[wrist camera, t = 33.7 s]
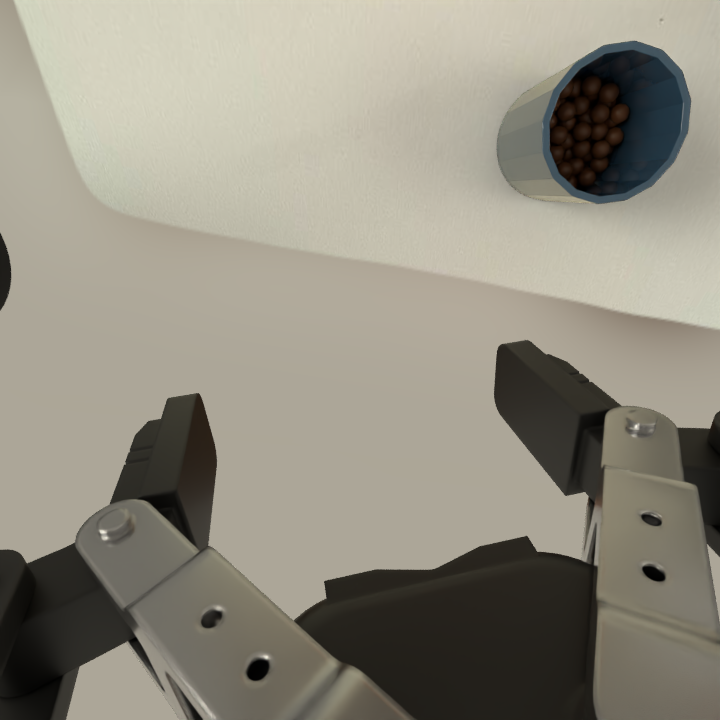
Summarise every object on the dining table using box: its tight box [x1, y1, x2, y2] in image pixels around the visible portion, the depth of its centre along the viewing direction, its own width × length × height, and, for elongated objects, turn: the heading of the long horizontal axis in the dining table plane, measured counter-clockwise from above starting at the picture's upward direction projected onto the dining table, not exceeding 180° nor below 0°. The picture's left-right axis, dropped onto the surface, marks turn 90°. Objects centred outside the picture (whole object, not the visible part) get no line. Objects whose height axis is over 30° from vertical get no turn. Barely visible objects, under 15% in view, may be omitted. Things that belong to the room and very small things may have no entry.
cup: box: [497, 41, 691, 204], centre depth 26 cm, size 7×7×8 cm
